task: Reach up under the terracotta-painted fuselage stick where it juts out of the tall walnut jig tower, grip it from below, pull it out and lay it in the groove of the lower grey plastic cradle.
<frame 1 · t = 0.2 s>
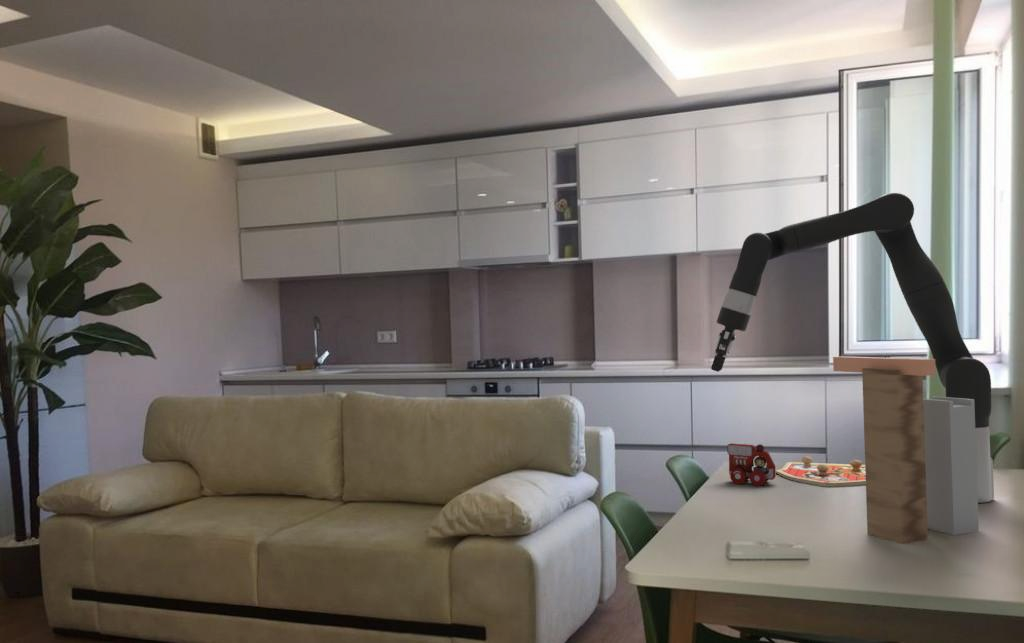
hand: (716, 370, 198), 31 cm above the table, tool tilted 20°, fingers open, 8 cm apart
cradle: (946, 527, 157), on the table
toy fire truck: (751, 483, 206), on the table
knob puzzle: (831, 479, 212), on the table
jig tower: (897, 536, 152), on the table
fuselage stick: (881, 372, 154), point 32 cm above the table, touching jig tower
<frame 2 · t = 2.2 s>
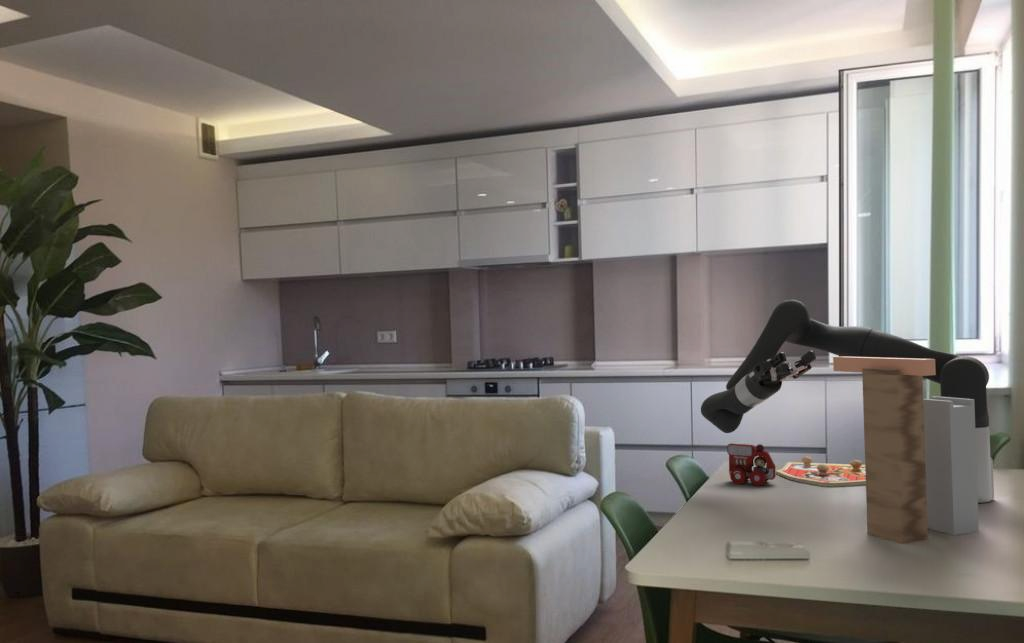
hand: (799, 355, 175), 35 cm above the table, tool pointing upward, fingers open, 8 cm apart
nothing on the table moved.
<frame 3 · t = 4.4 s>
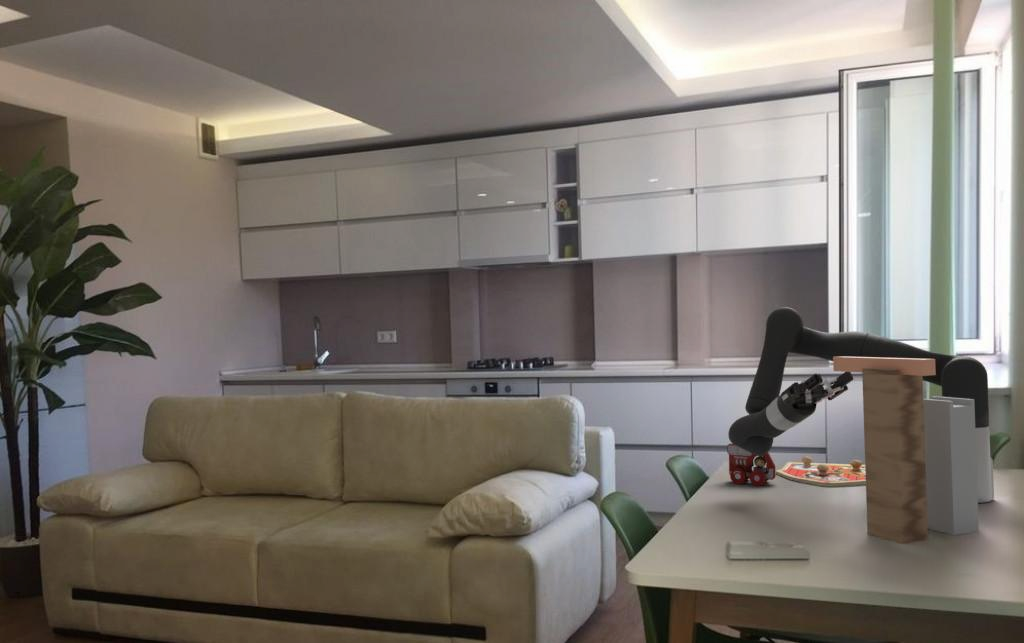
hand: (835, 375, 165), 31 cm above the table, tool pointing upward, fingers open, 8 cm apart
nothing on the table moved.
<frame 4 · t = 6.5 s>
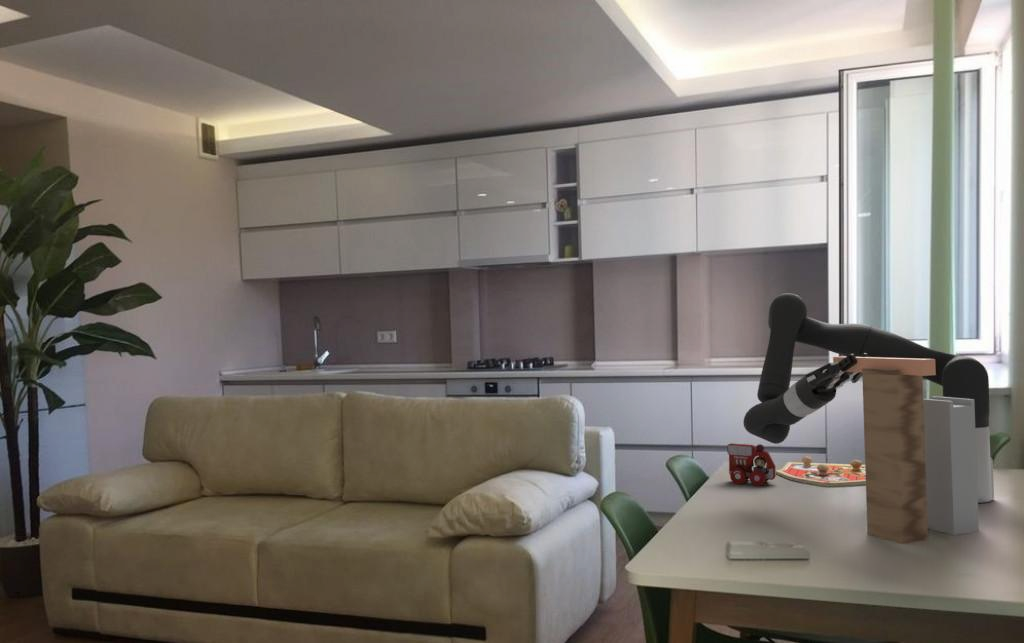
hand: (860, 357, 159), 35 cm above the table, tool pointing upward, fingers closed on fuselage stick, 3 cm apart
fuselage stick: (881, 372, 154), point 32 cm above the table, touching gripper, jig tower
everything else where it was.
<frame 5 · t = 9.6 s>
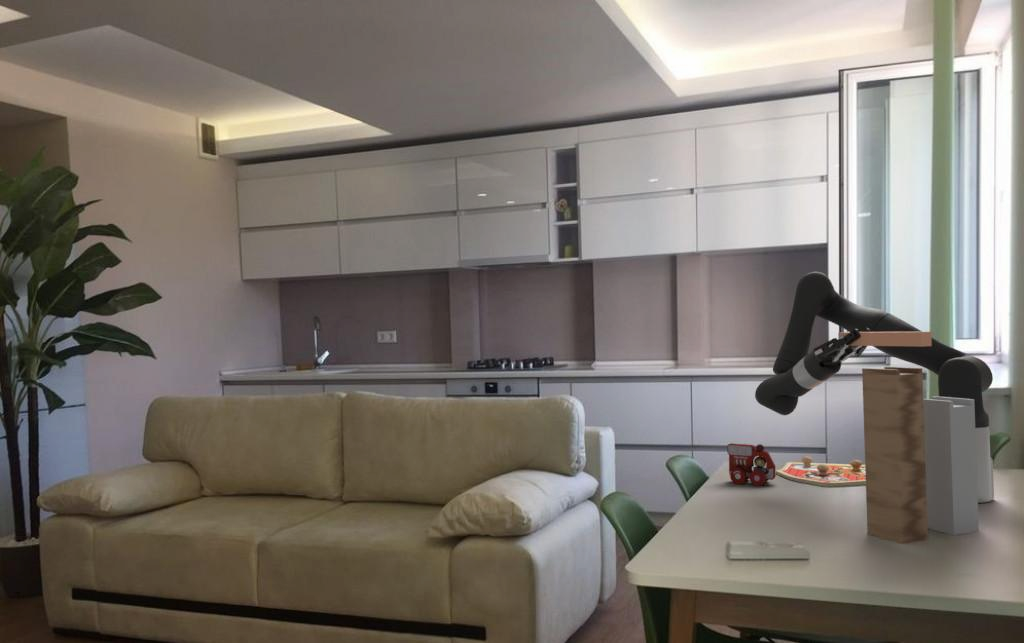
hand: (863, 332, 175), 40 cm above the table, tool pointing upward, fingers closed on fuselage stick, 3 cm apart
fuselage stick: (882, 345, 170), point 37 cm above the table, touching gripper
everything else where it was.
when the fingers open (29 cm above the table, at t = 12.9 s): fuselage stick drops 1 cm, resting on cradle.
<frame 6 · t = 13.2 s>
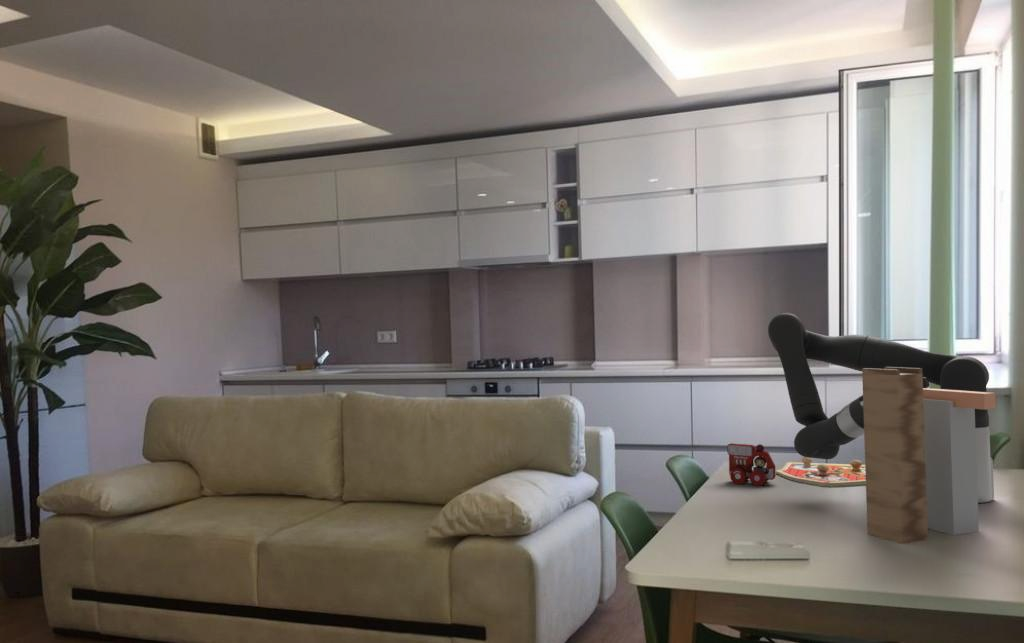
hand: (916, 382, 162), 29 cm above the table, tool pointing upward, fingers open, 5 cm apart
fuselage stick: (939, 404, 158), point 25 cm above the table, touching cradle
everything else where it was.
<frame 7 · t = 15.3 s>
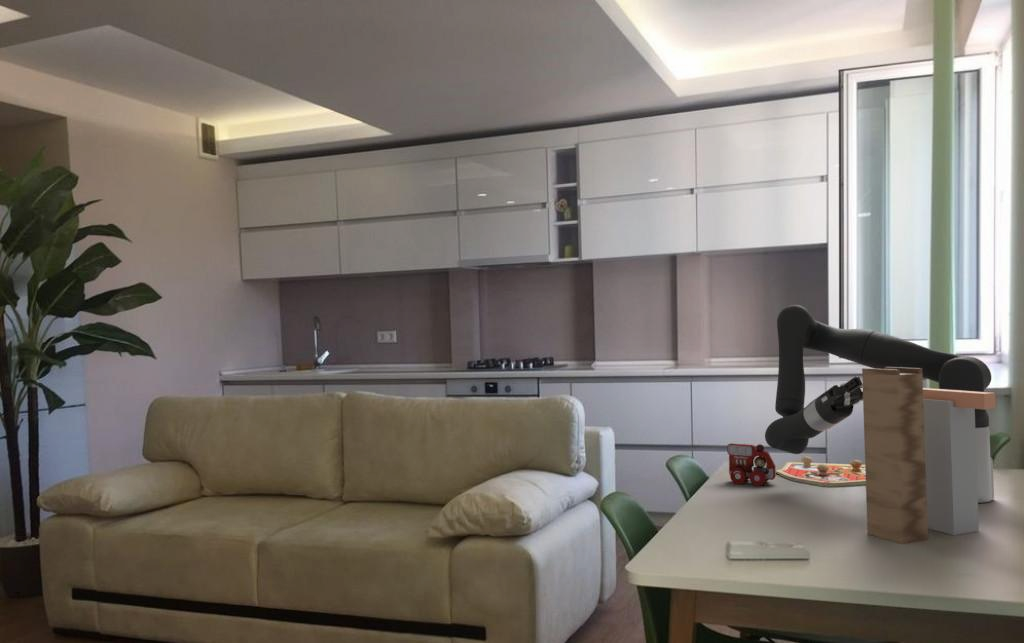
hand: (874, 379, 172), 29 cm above the table, tool pointing upward, fingers open, 8 cm apart
nothing on the table moved.
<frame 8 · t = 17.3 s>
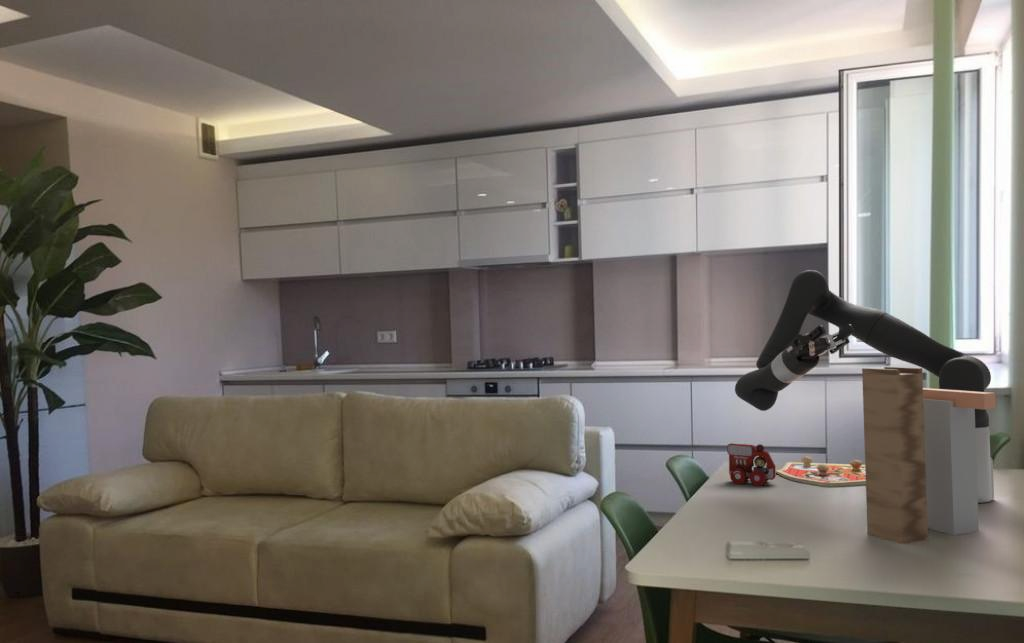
hand: (837, 328, 175), 41 cm above the table, tool pointing upward, fingers open, 8 cm apart
nothing on the table moved.
at the end: fuselage stick inside the target area on the cradle (0.1 cm from its centre), point 25.0 cm above the cradle's base; fuselage stick touching cradle; the gripper is holding nothing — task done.
